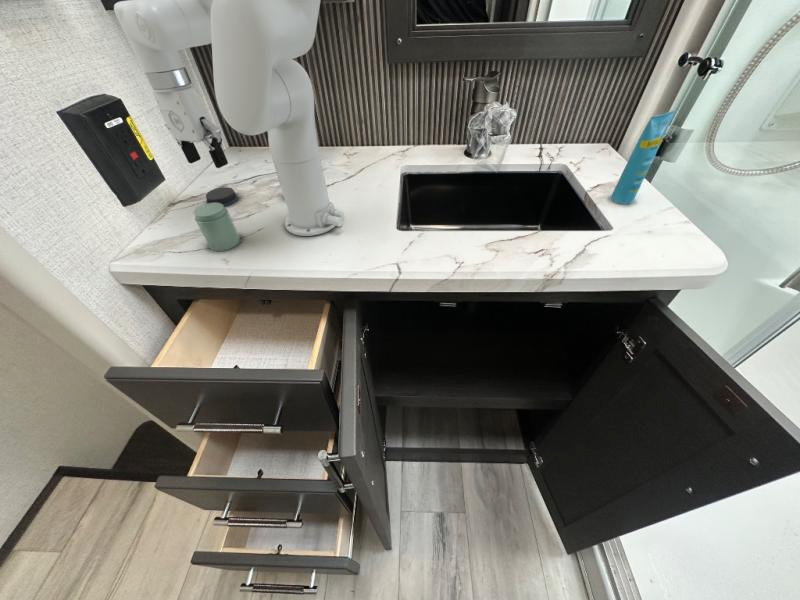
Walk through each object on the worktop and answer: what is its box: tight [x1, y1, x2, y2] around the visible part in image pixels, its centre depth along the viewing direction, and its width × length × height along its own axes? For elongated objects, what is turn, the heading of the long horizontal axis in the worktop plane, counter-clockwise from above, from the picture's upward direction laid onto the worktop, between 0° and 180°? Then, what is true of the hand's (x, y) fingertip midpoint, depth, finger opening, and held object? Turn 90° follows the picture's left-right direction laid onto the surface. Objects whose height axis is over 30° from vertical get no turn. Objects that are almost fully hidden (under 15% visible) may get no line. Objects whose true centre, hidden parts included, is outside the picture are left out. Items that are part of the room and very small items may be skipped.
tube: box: [610, 109, 676, 205], centre depth 74 cm, size 7×5×19 cm, turn 123°
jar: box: [193, 203, 241, 252], centre depth 70 cm, size 6×6×8 cm
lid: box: [205, 186, 236, 204], centre depth 86 cm, size 7×7×2 cm
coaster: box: [206, 193, 239, 208], centre depth 87 cm, size 8×8×1 cm
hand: (208, 163), depth 80 cm, fingers open, 9 cm apart
